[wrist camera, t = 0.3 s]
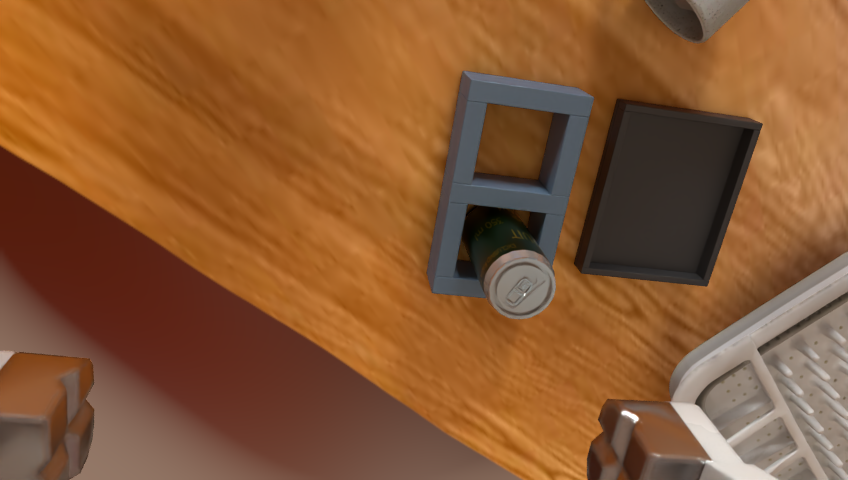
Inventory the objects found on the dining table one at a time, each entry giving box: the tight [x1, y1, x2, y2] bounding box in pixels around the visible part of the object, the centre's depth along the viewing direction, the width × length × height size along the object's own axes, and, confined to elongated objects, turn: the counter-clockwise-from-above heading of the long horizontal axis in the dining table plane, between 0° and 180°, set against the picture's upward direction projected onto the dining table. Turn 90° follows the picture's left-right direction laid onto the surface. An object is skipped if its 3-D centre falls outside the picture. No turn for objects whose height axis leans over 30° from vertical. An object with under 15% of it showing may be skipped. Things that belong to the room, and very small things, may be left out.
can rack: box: [427, 71, 594, 298], centre depth 59 cm, size 18×10×4 cm, turn 171°
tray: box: [574, 99, 763, 286], centre depth 61 cm, size 15×12×2 cm
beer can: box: [462, 206, 556, 319], centre depth 56 cm, size 5×5×12 cm
